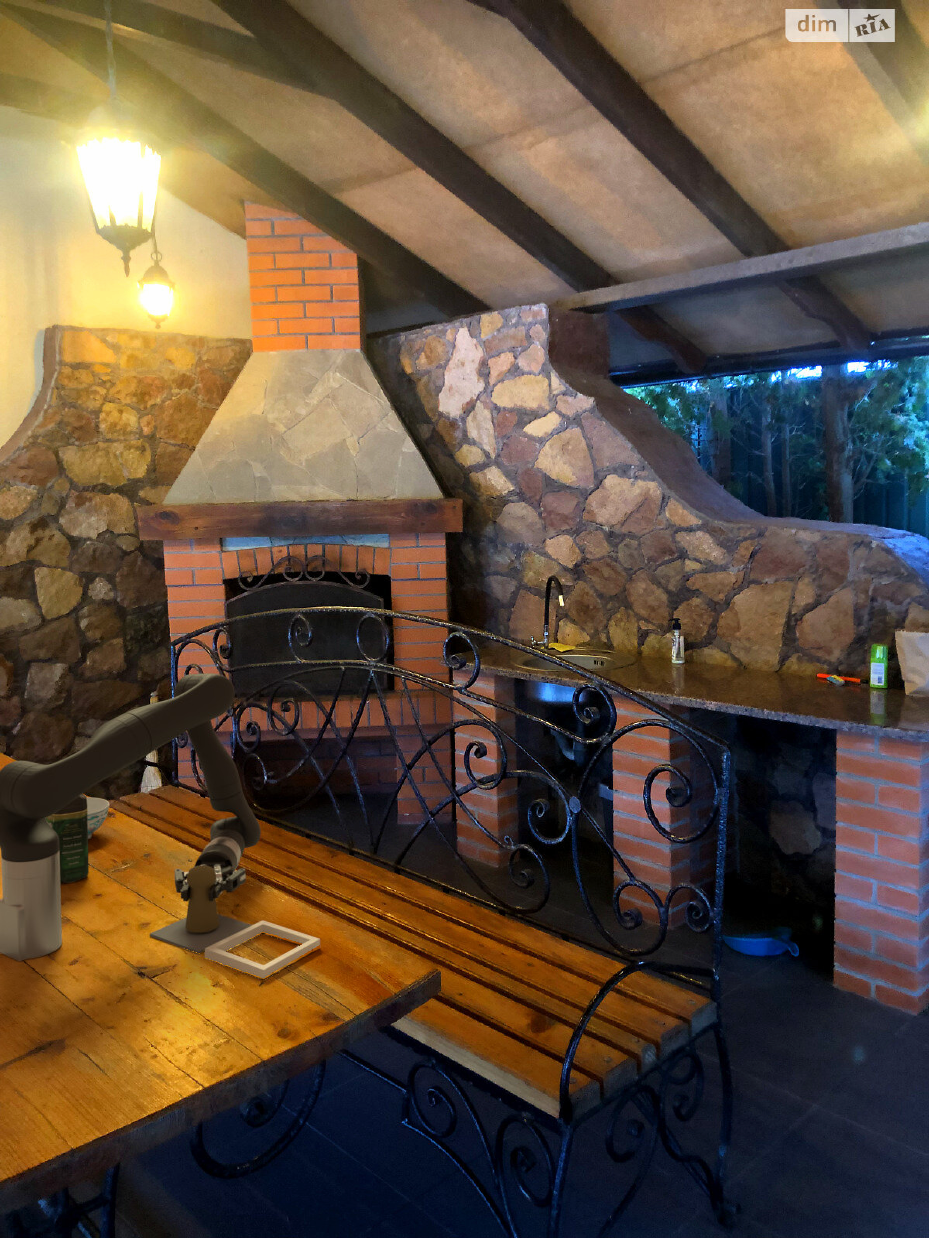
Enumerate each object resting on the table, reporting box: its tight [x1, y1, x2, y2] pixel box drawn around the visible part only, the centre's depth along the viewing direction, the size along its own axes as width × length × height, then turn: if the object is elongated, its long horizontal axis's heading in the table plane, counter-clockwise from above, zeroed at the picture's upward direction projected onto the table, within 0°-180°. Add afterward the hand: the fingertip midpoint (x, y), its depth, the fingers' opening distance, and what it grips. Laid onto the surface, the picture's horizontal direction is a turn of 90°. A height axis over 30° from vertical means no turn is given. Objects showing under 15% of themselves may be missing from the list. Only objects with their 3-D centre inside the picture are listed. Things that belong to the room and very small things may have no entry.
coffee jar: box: [46, 793, 90, 884], centre depth 195 cm, size 10×8×19 cm
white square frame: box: [204, 920, 321, 978], centre depth 162 cm, size 14×14×2 cm
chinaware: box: [45, 796, 110, 840], centre depth 220 cm, size 15×15×8 cm
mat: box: [149, 913, 253, 954], centre depth 170 cm, size 13×13×1 cm
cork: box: [185, 866, 219, 933], centre depth 170 cm, size 6×6×11 cm
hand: (198, 895), depth 167 cm, fingers closed on cork, 4 cm apart
